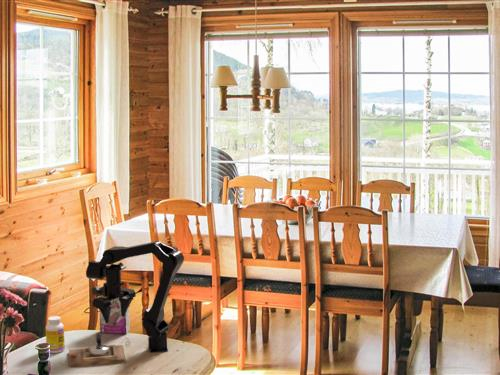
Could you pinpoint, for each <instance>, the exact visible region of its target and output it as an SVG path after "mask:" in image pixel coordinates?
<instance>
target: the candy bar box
mask: <svg viewBox="0 0 500 375" xmlns="http://www.w3.org/2000/svg"><path fill="white" fill-rule="evenodd" d="M98 297H103V298H107V297H104V296H103V295H101V296H98ZM110 307H111V311H110V317H109V322H108V323H106V322H105V320H104V318H103V315H102V313H101V311H100V310H99V332H100V333H101V334H114V335H115V334H117V335H127V334H128V333H129V332H130V326H131V324H130V306H129V307H128V309H127V312H126V314H125V316H124V317H123V316H122V314H121V304H120V301H119V299H117V300H114V301H112V302H111V304H110ZM122 333H124V334H122Z"/></svg>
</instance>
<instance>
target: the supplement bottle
mask: <svg viewBox="0 0 500 375" xmlns="http://www.w3.org/2000/svg"><path fill="white" fill-rule="evenodd" d="M61 321H62V318H61V316H60V315H59V316H58V315H57V316H56V315H53V316H49V317H48V318H47V324H46V326H45V342H46V343H49V344H50V353H49V354H58V353H62V352H63V351H65V346H66V345H65V327H64V324H63V323H62V322H61Z"/></svg>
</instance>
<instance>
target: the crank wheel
mask: <svg viewBox="0 0 500 375" xmlns="http://www.w3.org/2000/svg"><path fill="white" fill-rule="evenodd" d="M95 338H96V340H95V341H96V342H95V343H96V344H95V345H92V346H89V347H90V356H91V357H102V356H108V355H109V345H107V344H102V333H100V331H99V332H96V333H95Z"/></svg>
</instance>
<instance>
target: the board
mask: <svg viewBox="0 0 500 375" xmlns="http://www.w3.org/2000/svg"><path fill="white" fill-rule="evenodd" d="M108 346H109V355H108V356H102V357H91V356H90V347H91V346H86V347H81V348H73V349H68V367H69V368H77V367H88V366H97V365H98V366H99V365H100V366H101V365H110V364H119V363H120V364H122V363H126V354H125V349H124V344H122V345H121V344H119V345H116V344H112V345H108Z"/></svg>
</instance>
